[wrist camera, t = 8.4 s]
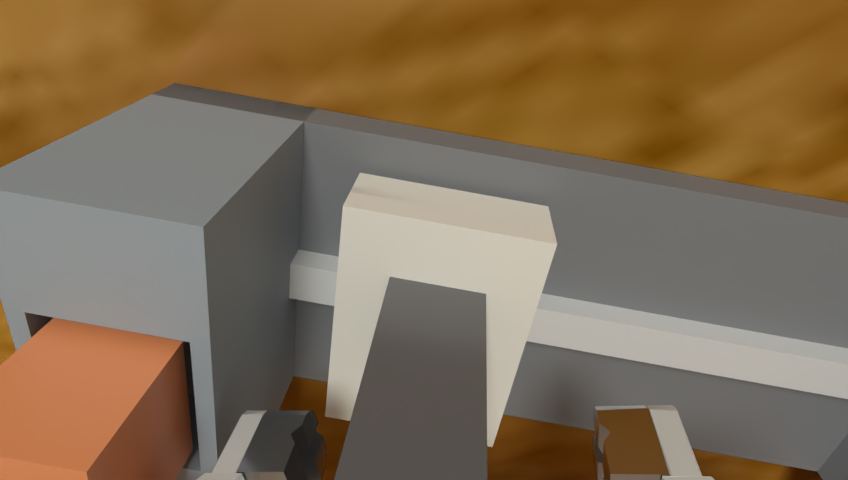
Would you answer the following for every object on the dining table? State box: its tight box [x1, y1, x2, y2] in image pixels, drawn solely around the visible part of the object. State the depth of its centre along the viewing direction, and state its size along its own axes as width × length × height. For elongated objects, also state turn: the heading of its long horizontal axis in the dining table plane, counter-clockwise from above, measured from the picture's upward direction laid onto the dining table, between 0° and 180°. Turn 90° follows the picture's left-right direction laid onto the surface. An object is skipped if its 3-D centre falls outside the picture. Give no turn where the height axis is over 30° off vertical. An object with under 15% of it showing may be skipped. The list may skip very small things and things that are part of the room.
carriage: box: [325, 173, 557, 480], centre depth 12 cm, size 5×7×8 cm
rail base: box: [0, 83, 848, 480], centre depth 14 cm, size 26×9×7 cm, turn 82°
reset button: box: [0, 318, 193, 480], centre depth 10 cm, size 3×3×3 cm
